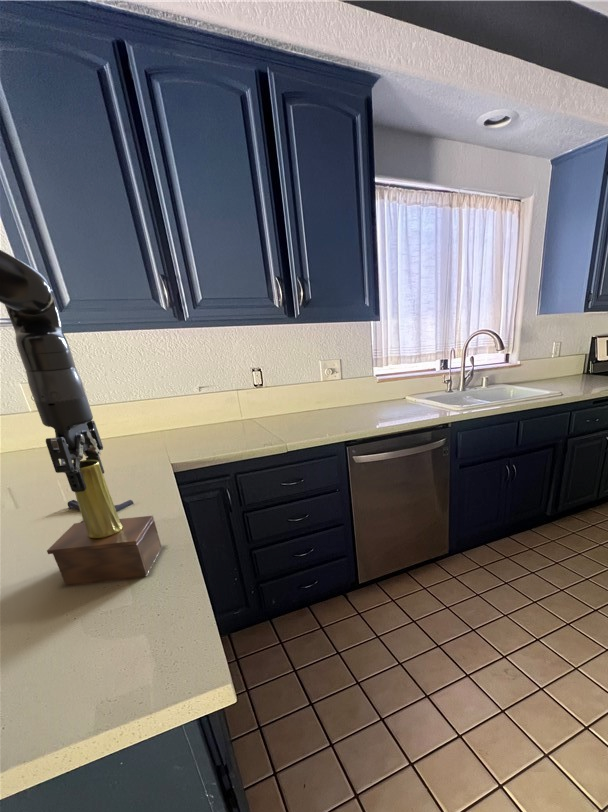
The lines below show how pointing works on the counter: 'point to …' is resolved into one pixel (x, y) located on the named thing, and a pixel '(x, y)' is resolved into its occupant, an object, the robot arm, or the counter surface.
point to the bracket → (74, 505)
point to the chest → (110, 561)
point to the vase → (97, 502)
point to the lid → (80, 541)
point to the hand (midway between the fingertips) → (89, 482)
